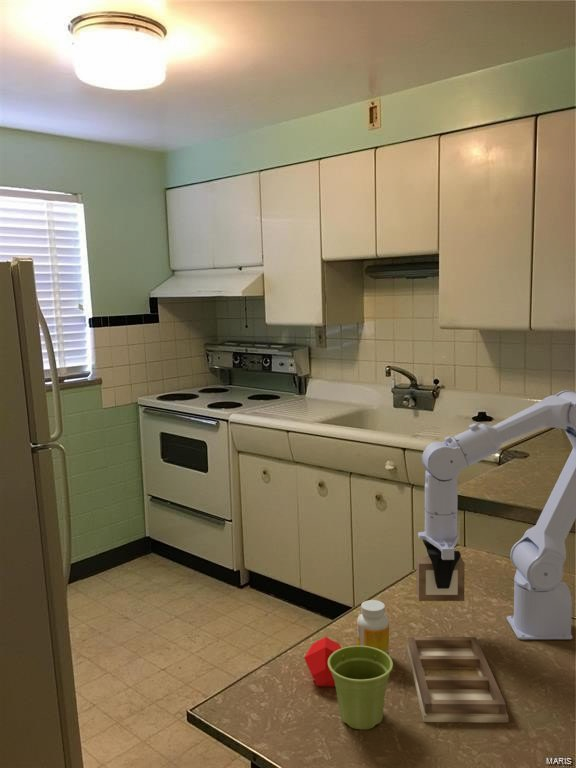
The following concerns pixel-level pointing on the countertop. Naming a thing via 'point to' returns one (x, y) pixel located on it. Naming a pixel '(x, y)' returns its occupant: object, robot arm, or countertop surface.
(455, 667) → the notch rack
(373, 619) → the supplement bottle
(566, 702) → the countertop surface
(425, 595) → the frame block
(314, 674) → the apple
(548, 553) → the robot arm
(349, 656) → the plant pot
